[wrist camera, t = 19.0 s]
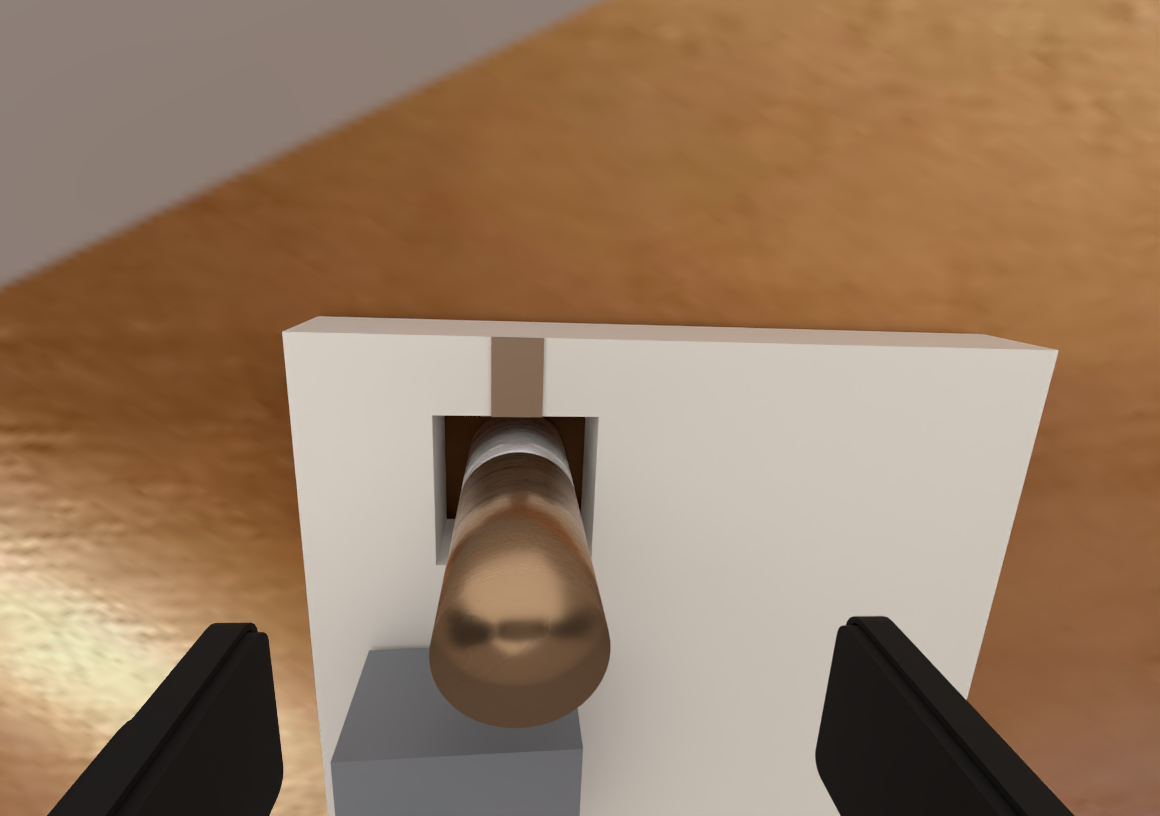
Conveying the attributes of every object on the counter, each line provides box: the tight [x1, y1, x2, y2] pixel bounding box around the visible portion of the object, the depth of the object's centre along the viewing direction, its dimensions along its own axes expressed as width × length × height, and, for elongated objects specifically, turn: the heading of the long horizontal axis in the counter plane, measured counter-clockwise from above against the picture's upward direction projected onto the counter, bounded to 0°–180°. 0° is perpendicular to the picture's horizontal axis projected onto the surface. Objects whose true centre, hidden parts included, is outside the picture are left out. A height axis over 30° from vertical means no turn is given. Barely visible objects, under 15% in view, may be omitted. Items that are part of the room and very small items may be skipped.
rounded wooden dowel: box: [429, 416, 611, 728], centre depth 15 cm, size 3×3×10 cm
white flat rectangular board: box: [282, 316, 1059, 816], centre depth 21 cm, size 22×18×3 cm
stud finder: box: [330, 648, 583, 816], centre depth 17 cm, size 6×7×4 cm
